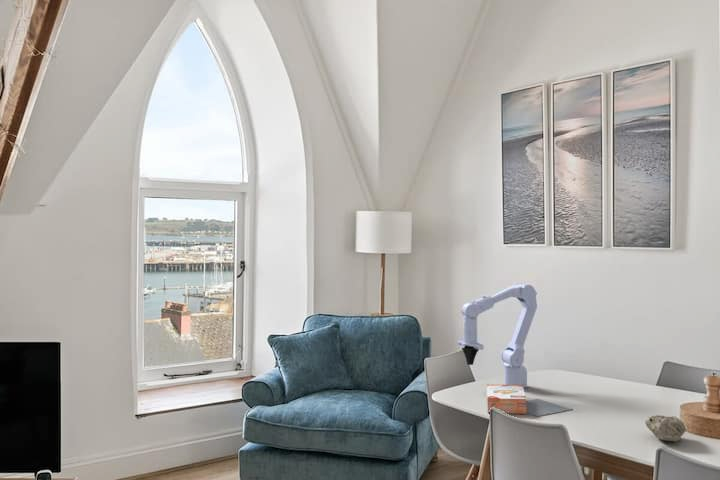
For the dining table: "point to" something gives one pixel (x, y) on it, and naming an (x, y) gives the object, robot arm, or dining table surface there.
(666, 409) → the dining table surface
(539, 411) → the mat
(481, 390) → the dining table surface
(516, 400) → the cracker box
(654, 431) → the pumice stone
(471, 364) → the robot arm
